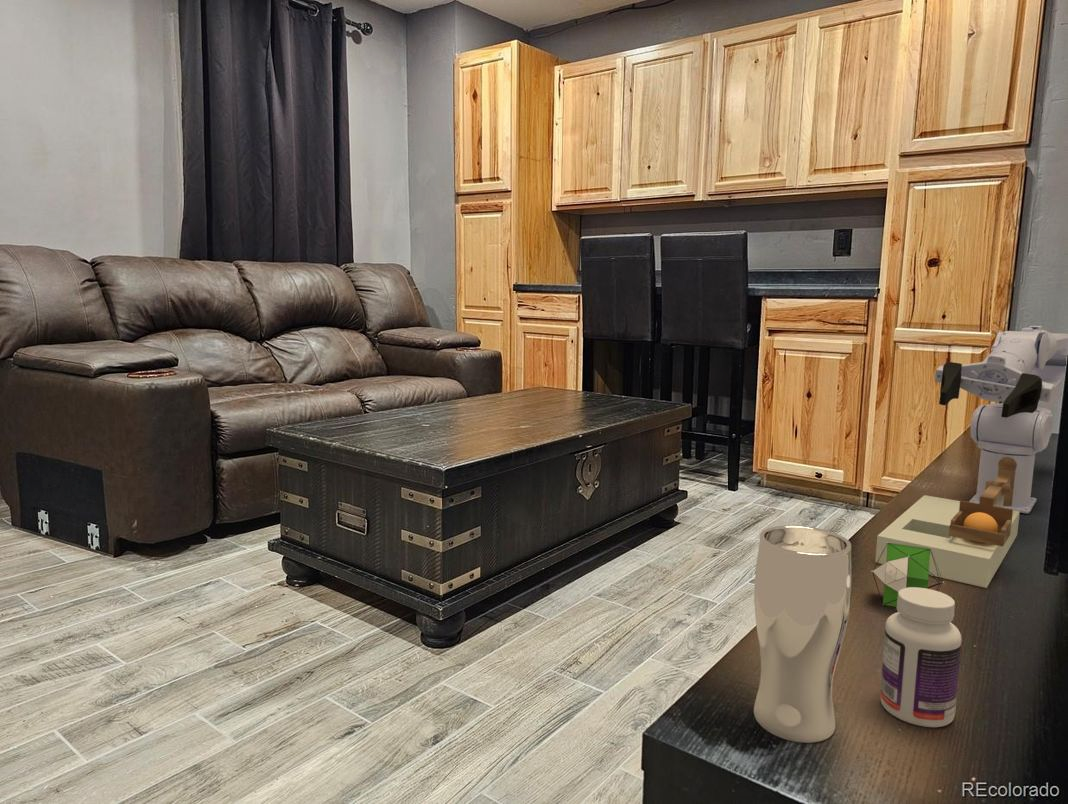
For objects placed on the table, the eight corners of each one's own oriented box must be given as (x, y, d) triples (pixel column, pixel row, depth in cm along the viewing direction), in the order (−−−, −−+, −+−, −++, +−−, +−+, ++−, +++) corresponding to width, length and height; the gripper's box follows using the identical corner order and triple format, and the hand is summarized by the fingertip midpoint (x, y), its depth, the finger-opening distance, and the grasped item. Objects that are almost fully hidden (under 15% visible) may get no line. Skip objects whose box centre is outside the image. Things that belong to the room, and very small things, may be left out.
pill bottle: (961, 708, 58) (972, 595, 57) (945, 738, 54) (957, 618, 53) (890, 684, 62) (899, 577, 60) (870, 711, 58) (879, 597, 57)
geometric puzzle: (873, 564, 84) (875, 523, 78) (940, 574, 80) (946, 532, 75) (868, 618, 79) (869, 579, 74) (938, 631, 76) (945, 591, 71)
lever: (981, 498, 103) (986, 452, 102) (1028, 506, 100) (1033, 458, 99) (948, 537, 87) (953, 483, 86) (1002, 548, 83) (1008, 491, 82)
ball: (965, 534, 90) (967, 506, 89) (998, 540, 88) (1001, 512, 87) (959, 541, 87) (961, 513, 87) (993, 548, 85) (996, 519, 84)
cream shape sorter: (922, 517, 108) (926, 471, 107) (1017, 535, 100) (1022, 485, 99) (875, 562, 90) (879, 507, 89) (986, 588, 82) (992, 527, 81)
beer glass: (850, 753, 53) (865, 558, 50) (752, 741, 54) (762, 551, 52) (831, 700, 59) (843, 527, 57) (744, 691, 61) (752, 521, 58)
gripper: (952, 337, 110) (919, 367, 101) (1066, 353, 100) (1040, 388, 92) (947, 379, 113) (914, 412, 104) (1057, 398, 103) (1031, 437, 95)
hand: (973, 404), depth 98 cm, fingers open, 7 cm apart
